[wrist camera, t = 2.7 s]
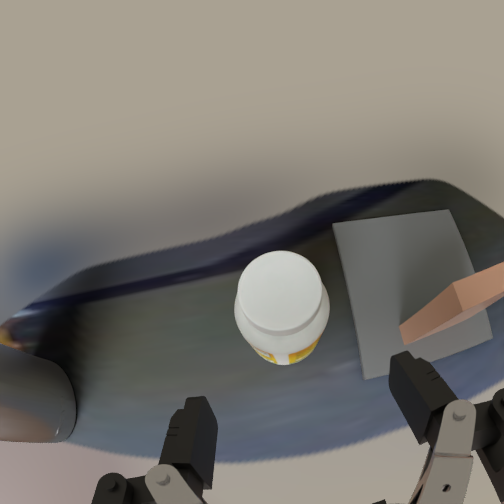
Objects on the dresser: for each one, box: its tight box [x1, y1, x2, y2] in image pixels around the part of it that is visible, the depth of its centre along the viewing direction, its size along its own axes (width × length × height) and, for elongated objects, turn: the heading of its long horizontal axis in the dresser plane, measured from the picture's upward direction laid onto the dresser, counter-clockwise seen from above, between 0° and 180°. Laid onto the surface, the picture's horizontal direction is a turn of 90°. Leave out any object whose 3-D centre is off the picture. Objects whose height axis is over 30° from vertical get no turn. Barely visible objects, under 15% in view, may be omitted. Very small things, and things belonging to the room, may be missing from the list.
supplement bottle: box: [234, 251, 330, 365], centre depth 17 cm, size 5×5×10 cm
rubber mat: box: [332, 209, 493, 380], centre depth 21 cm, size 13×14×1 cm
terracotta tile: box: [399, 262, 504, 345], centre depth 15 cm, size 2×7×9 cm, turn 100°
